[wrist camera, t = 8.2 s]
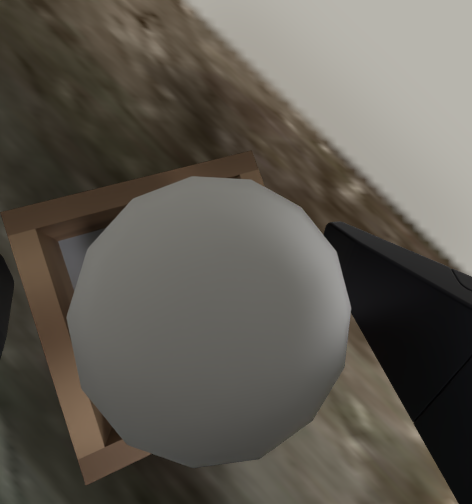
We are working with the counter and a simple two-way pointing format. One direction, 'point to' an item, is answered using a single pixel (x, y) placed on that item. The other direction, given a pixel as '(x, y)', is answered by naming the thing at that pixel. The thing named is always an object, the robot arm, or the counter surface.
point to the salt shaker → (209, 321)
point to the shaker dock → (64, 283)
